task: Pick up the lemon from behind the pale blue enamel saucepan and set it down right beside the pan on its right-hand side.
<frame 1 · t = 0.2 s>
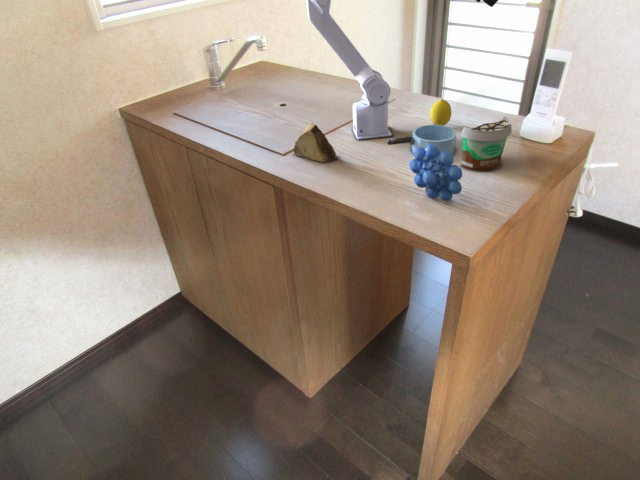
hand: (488, 0, 108), 30 cm above the countertop, tool tilted 45°, fingers open, 7 cm apart
rock: (314, 157, 114), on the countertop
food container: (486, 167, 104), on the countertop
lemon: (439, 128, 124), on the countertop
pan: (433, 149, 113), on the countertop
grapes: (430, 200, 94), on the countertop
pan handle: (400, 141, 111), point 3 cm above the countertop
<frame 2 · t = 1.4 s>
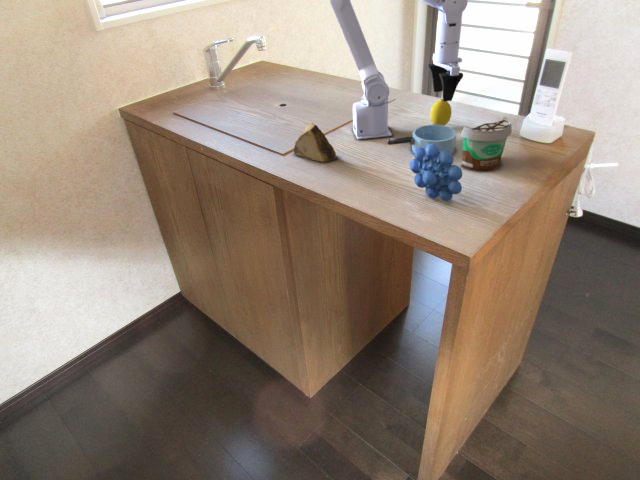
hand: (442, 95, 119), 9 cm above the countertop, tool pointing down, fingers open, 7 cm apart
nothing on the countertop moved.
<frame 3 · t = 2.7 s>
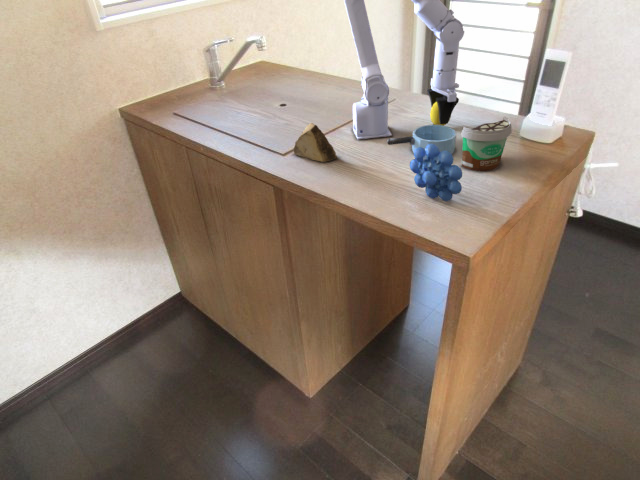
hand: (440, 119, 122), 2 cm above the countertop, tool pointing down, fingers closed on lemon, 5 cm apart
lemon: (439, 128, 124), on the countertop, touching gripper
everything else where it was.
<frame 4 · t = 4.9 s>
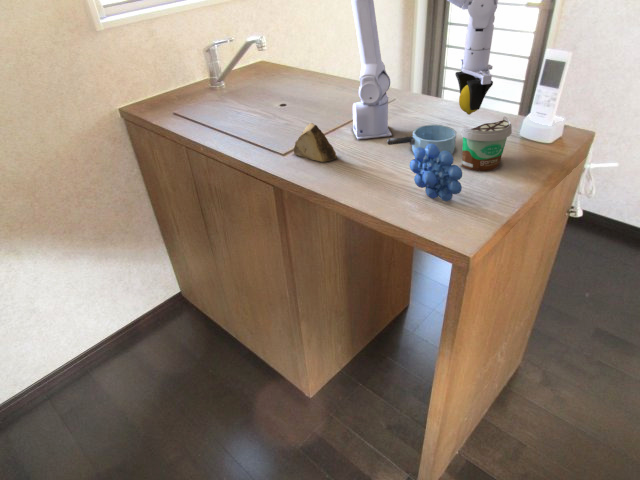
hand: (470, 105, 111), 9 cm above the countertop, tool pointing down, fingers closed on lemon, 5 cm apart
lemon: (468, 115, 112), point 7 cm above the countertop, touching gripper
everything else where it was.
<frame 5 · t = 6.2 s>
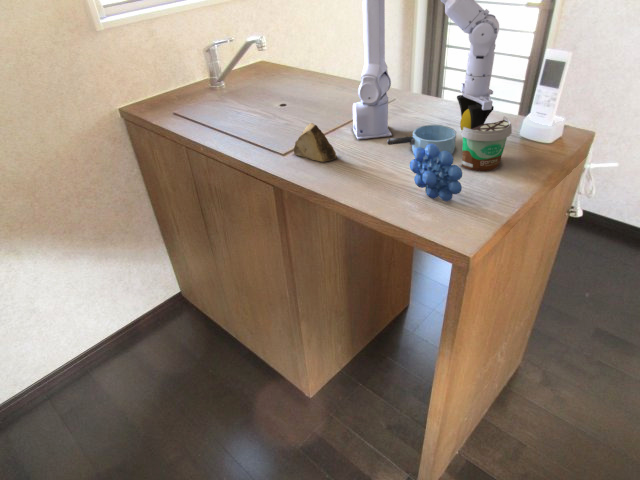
hand: (471, 128, 113), 4 cm above the countertop, tool pointing down, fingers closed on lemon, 5 cm apart
lemon: (469, 137, 115), point 1 cm above the countertop, touching gripper
everything else where it was.
when the fingers open (2 cm above the countertop, at t = 7.2 s): lemon stays where it is, on the countertop.
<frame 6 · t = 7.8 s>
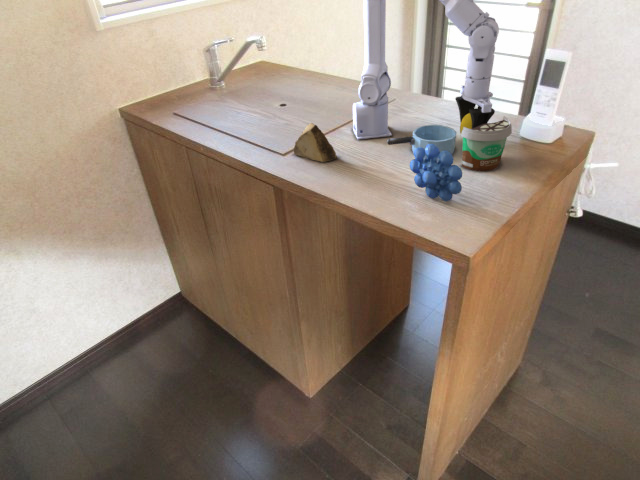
hand: (470, 130, 113), 3 cm above the countertop, tool pointing down, fingers open, 7 cm apart
lemon: (469, 142, 115), on the countertop
everything else where it was.
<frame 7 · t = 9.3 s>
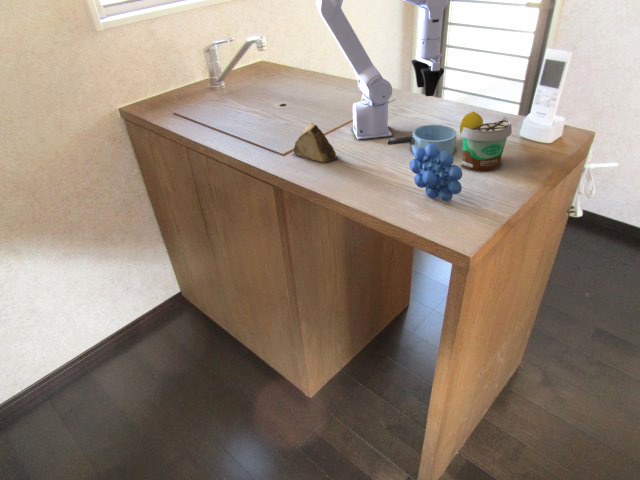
hand: (425, 91, 121), 9 cm above the countertop, tool pointing down, fingers open, 7 cm apart
nothing on the countertop moved.
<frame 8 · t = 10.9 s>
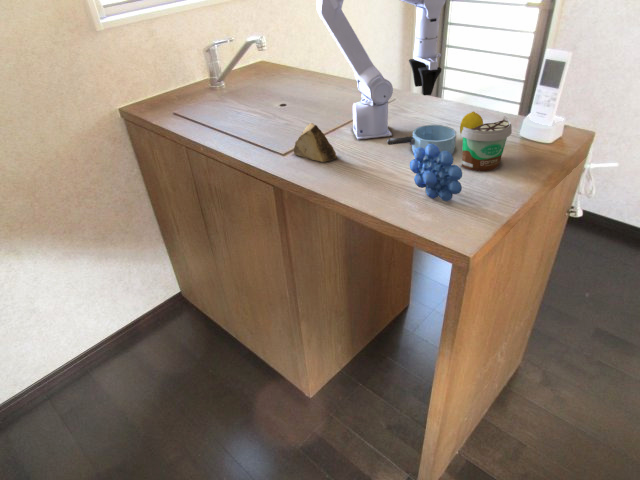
hand: (422, 90, 122), 9 cm above the countertop, tool pointing down, fingers open, 7 cm apart
nothing on the countertop moved.
at the end: lemon 10.5 cm from the pan (horizontally); lemon inside the target area on the countertop beside the pan (0.6 cm from its centre), on the countertop; the gripper is holding nothing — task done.
